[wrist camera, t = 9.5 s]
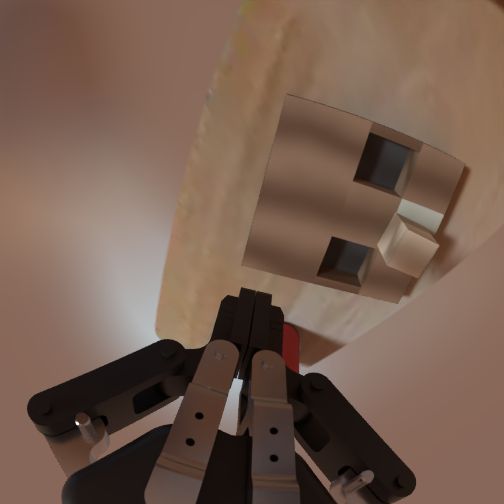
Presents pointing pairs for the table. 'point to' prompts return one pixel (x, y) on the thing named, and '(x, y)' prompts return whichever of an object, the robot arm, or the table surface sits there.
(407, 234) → the maple block
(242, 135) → the table surface
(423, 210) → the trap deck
